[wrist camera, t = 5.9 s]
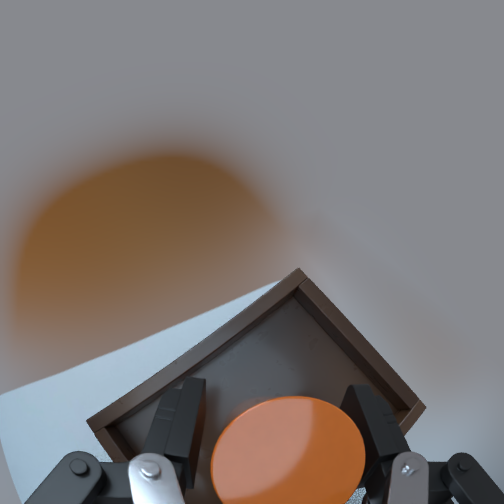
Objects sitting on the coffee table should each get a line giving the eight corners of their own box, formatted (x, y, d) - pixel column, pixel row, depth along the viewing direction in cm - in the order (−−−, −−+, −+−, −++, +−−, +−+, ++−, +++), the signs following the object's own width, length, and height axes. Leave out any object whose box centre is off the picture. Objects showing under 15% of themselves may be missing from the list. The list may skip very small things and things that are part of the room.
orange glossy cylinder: (257, 480, 11) (279, 551, 4) (206, 426, 13) (176, 457, 6) (316, 433, 13) (392, 459, 6) (267, 381, 14) (301, 364, 7)
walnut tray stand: (230, 485, 23) (226, 572, 7) (164, 410, 27) (85, 420, 11) (329, 407, 28) (427, 407, 12) (265, 336, 31) (298, 266, 15)
